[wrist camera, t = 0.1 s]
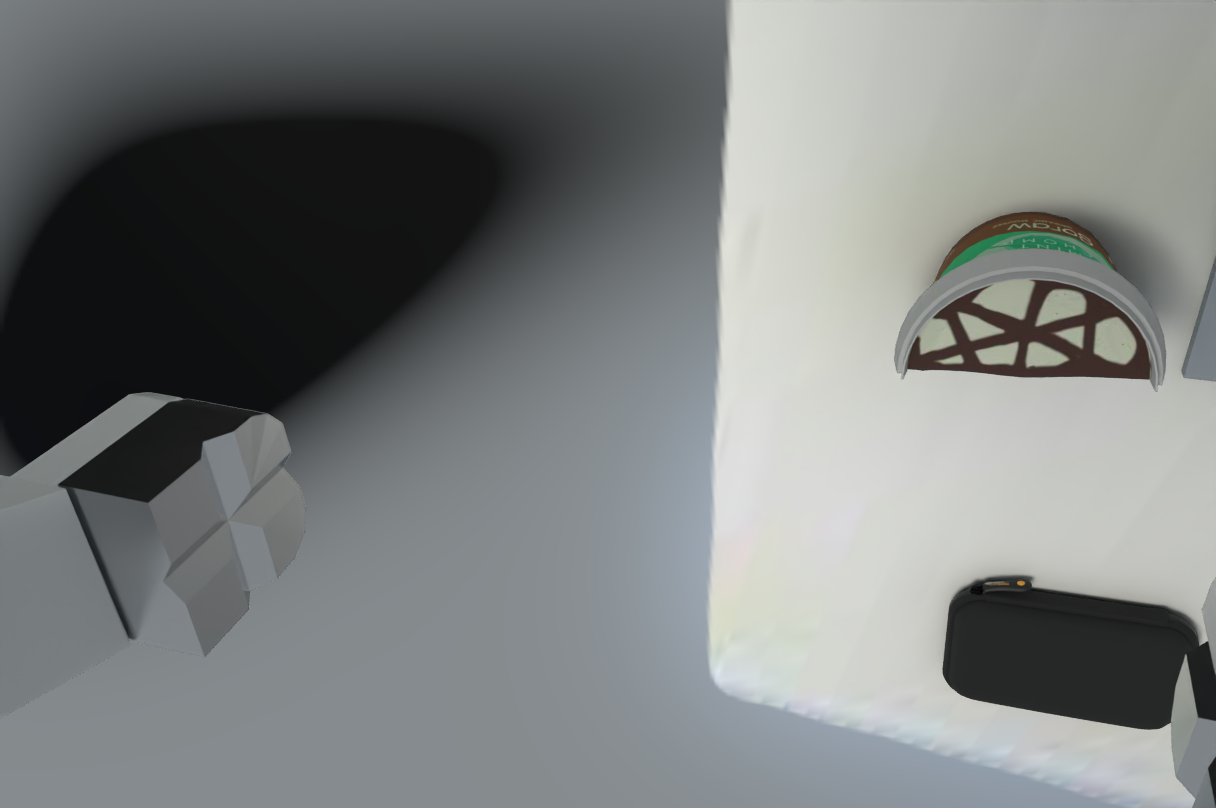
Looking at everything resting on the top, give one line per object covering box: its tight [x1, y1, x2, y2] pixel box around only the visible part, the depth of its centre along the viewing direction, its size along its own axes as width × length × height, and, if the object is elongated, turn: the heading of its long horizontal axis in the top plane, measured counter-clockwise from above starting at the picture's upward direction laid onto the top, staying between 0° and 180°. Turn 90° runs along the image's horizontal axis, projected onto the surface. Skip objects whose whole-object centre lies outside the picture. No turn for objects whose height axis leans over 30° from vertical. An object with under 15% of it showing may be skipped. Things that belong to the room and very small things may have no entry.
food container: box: [894, 212, 1166, 392], centre depth 50 cm, size 12×6×10 cm, turn 98°
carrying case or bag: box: [943, 579, 1199, 730], centre depth 65 cm, size 11×3×15 cm
